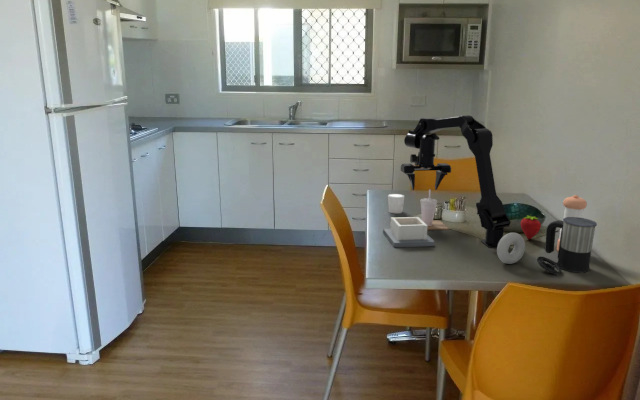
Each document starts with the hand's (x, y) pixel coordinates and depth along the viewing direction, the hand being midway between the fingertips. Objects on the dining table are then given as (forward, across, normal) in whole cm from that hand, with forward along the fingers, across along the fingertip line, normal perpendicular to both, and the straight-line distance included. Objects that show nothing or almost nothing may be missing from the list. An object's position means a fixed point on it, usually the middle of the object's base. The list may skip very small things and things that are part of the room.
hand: (424, 189), depth 208 cm
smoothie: (+12, +1, +9) cm, 15 cm away
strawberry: (+12, -30, +28) cm, 43 cm away
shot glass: (+12, +8, -12) cm, 19 cm away
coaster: (+12, 0, +9) cm, 15 cm away
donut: (+12, -12, +50) cm, 53 cm away
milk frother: (+12, -26, +56) cm, 63 cm away
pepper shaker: (+12, -37, +41) cm, 57 cm away
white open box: (+12, +13, +24) cm, 30 cm away
